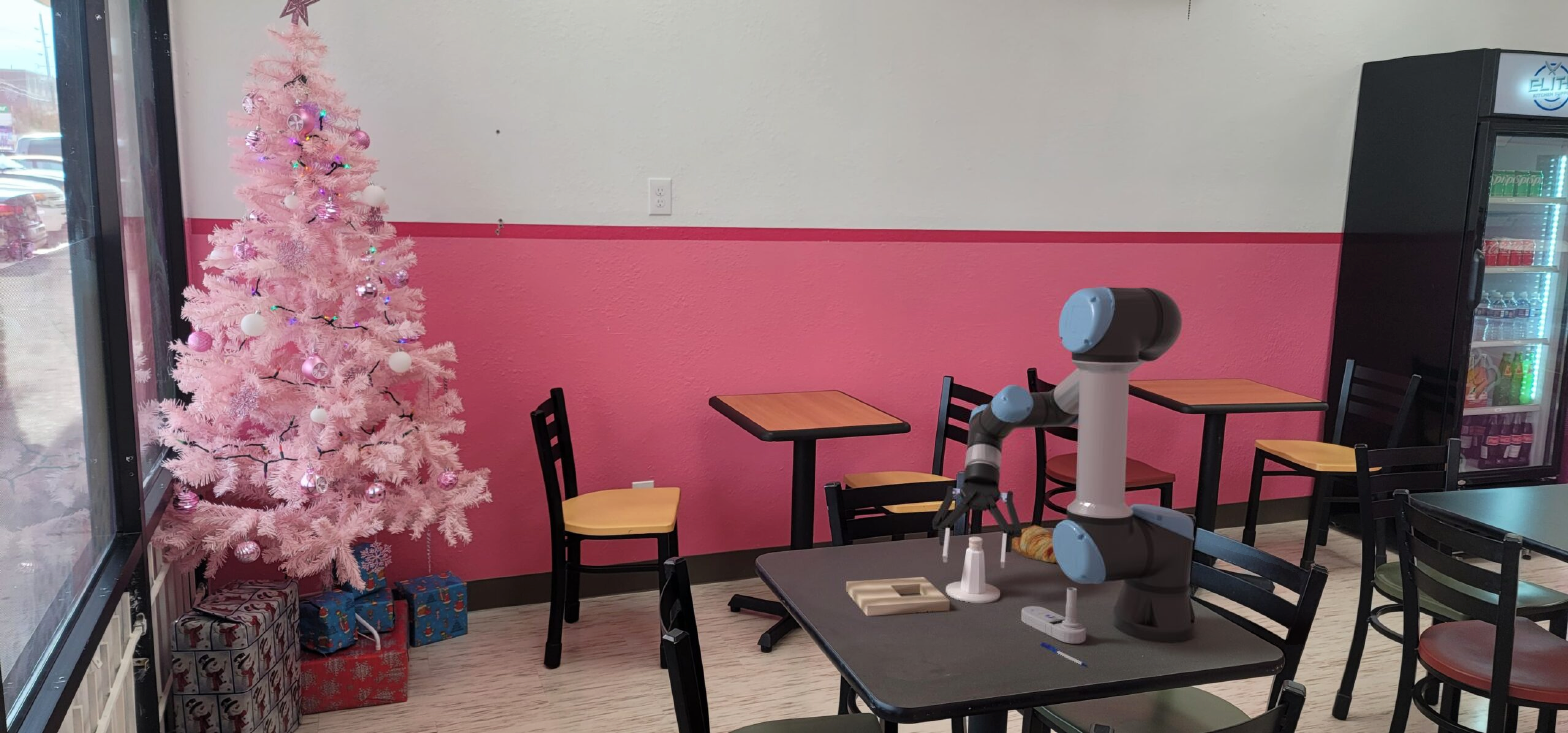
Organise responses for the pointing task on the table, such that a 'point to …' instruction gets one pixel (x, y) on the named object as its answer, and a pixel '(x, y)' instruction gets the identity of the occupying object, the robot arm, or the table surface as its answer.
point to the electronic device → (1057, 620)
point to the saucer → (957, 594)
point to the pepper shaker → (974, 568)
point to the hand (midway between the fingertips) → (973, 562)
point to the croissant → (1035, 544)
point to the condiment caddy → (896, 596)
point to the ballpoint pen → (1062, 653)
